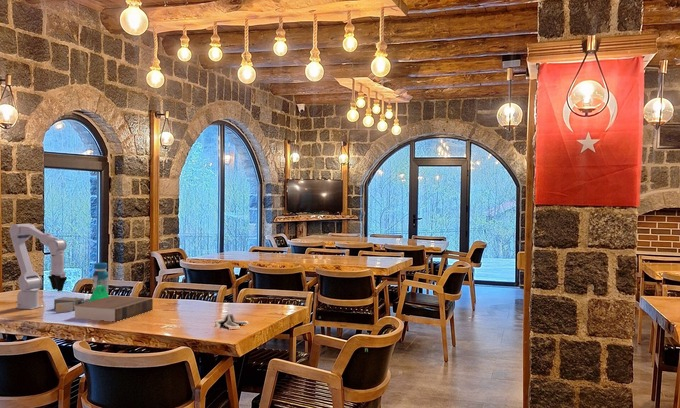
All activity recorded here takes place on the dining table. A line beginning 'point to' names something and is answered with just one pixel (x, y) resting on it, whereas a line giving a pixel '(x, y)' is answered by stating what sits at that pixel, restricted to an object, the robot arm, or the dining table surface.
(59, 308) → the side door
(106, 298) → the book
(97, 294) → the camera mount
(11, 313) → the dining table surface
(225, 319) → the cloth
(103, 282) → the beverage bottle
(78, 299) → the camera body
